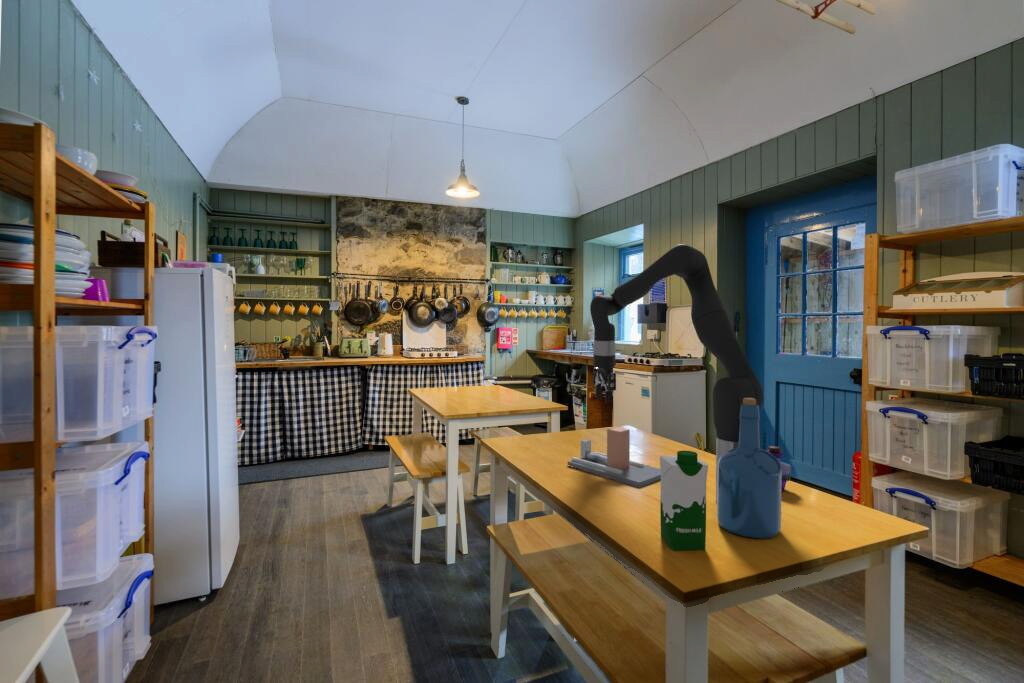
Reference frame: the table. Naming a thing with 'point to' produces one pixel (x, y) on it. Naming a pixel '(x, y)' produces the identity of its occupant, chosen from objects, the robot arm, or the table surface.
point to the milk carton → (683, 501)
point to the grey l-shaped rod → (588, 454)
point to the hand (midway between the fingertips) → (603, 399)
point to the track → (620, 471)
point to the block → (618, 448)
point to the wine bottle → (749, 482)
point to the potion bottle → (784, 467)
